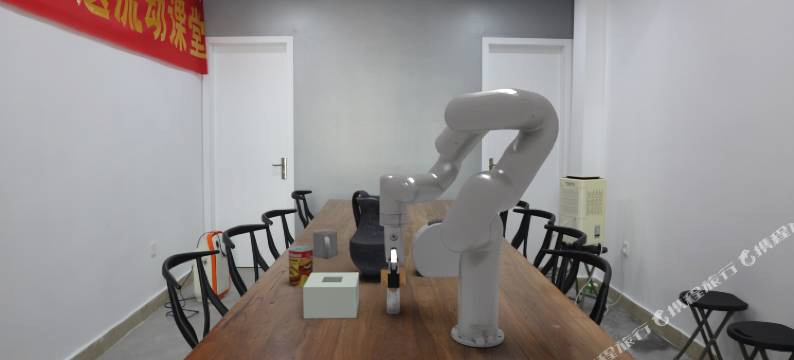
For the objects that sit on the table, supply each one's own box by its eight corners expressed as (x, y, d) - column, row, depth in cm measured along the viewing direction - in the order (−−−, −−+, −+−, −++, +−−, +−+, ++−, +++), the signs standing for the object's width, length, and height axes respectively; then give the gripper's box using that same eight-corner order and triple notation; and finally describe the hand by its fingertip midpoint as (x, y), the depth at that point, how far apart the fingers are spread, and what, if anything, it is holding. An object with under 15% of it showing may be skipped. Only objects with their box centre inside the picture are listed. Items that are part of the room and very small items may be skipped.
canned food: (285, 283, 156) (284, 247, 155) (306, 279, 161) (305, 244, 160) (296, 289, 150) (295, 252, 149) (317, 284, 155) (317, 248, 154)
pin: (406, 316, 126) (406, 273, 125) (380, 317, 126) (380, 273, 125) (404, 308, 133) (405, 266, 132) (381, 308, 132) (381, 266, 132)
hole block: (356, 317, 125) (356, 286, 124) (303, 318, 125) (303, 287, 124) (358, 300, 139) (358, 272, 138) (311, 300, 138) (311, 272, 138)
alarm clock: (468, 270, 172) (469, 217, 170) (472, 276, 164) (473, 220, 163) (410, 271, 171) (411, 217, 169) (412, 277, 164) (412, 221, 162)
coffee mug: (315, 252, 201) (314, 229, 200) (338, 252, 201) (338, 229, 200) (310, 259, 187) (310, 235, 187) (335, 259, 188) (335, 235, 187)
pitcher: (368, 288, 150) (368, 195, 148) (334, 274, 166) (333, 190, 164) (409, 278, 161) (409, 192, 159) (373, 266, 177) (373, 187, 175)
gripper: (408, 224, 119) (408, 293, 120) (405, 214, 136) (405, 274, 137) (379, 225, 118) (379, 293, 120) (379, 214, 136) (379, 274, 137)
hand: (393, 283), depth 129 cm, fingers closed on pin, 6 cm apart
